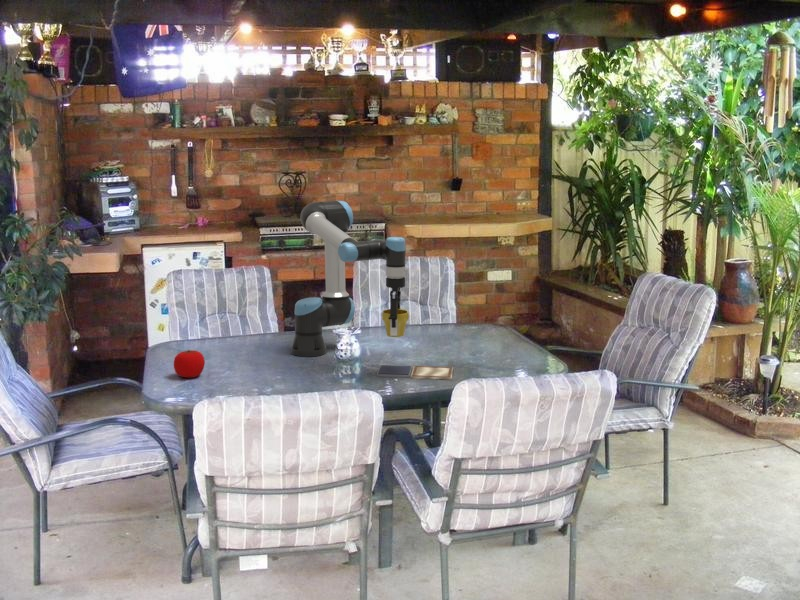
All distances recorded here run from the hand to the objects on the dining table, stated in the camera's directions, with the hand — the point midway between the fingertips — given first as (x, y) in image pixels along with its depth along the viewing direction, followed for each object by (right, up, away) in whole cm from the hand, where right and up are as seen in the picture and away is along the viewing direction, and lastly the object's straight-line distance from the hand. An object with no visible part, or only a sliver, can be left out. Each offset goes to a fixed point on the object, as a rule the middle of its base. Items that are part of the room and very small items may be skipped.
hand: (395, 332), depth 360 cm
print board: (+15, -17, +2) cm, 22 cm away
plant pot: (0, -1, 0) cm, 1 cm away
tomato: (-80, -17, -4) cm, 82 cm away
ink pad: (0, -16, +3) cm, 16 cm away
